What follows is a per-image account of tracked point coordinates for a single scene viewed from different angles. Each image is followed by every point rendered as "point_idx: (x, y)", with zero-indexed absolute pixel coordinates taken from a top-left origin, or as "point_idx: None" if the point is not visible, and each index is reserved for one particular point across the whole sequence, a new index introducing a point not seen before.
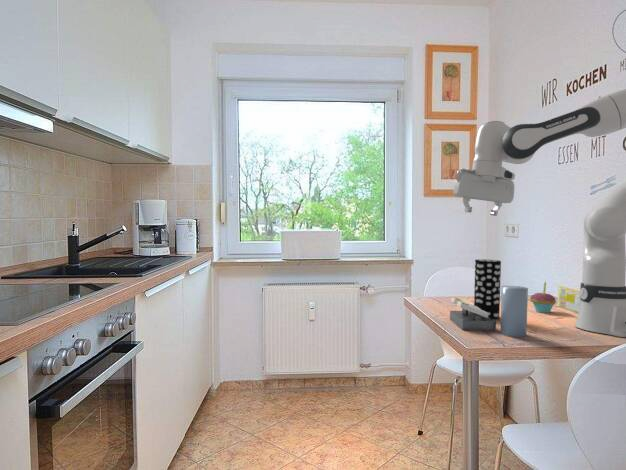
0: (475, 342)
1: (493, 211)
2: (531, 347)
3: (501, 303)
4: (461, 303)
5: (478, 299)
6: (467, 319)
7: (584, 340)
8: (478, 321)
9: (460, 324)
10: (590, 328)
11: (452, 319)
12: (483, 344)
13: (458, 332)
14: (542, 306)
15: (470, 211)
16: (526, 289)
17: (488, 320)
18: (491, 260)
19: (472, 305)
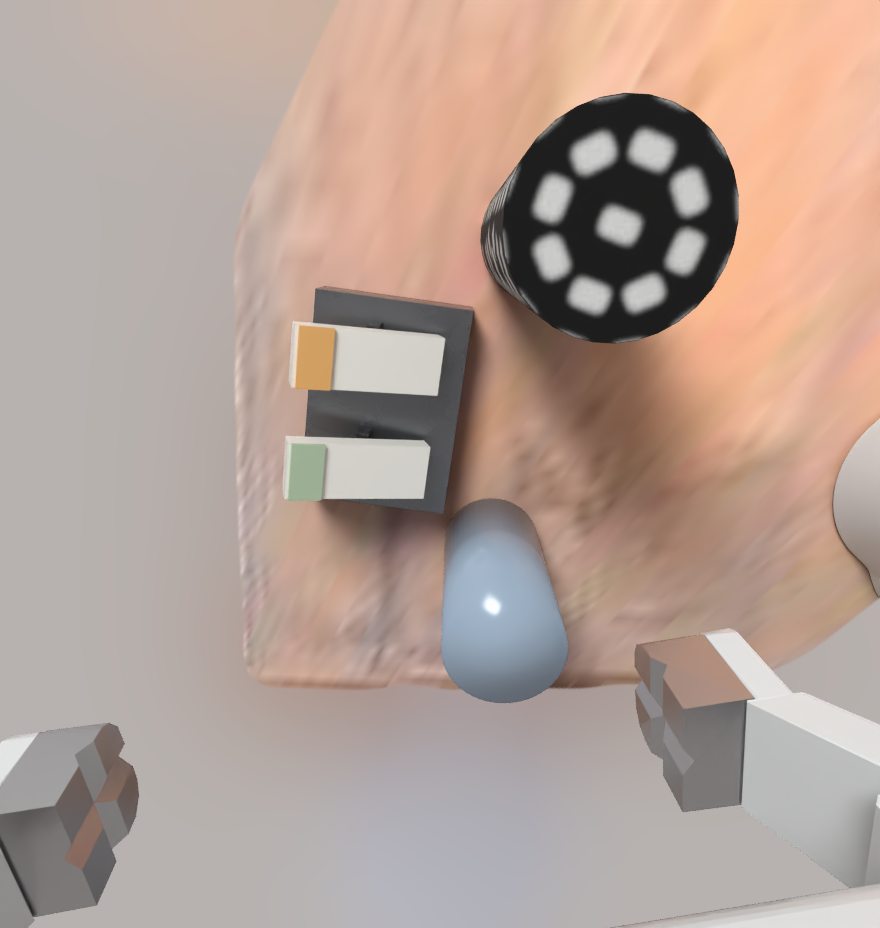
0: (294, 629)
1: (665, 775)
2: None
3: (445, 586)
4: (285, 497)
5: (490, 264)
6: None
7: (704, 623)
8: (369, 502)
9: None
10: (846, 529)
11: None
12: (312, 650)
13: (280, 511)
14: None
15: (111, 812)
16: (535, 694)
17: (416, 500)
18: (659, 221)
19: (398, 380)
